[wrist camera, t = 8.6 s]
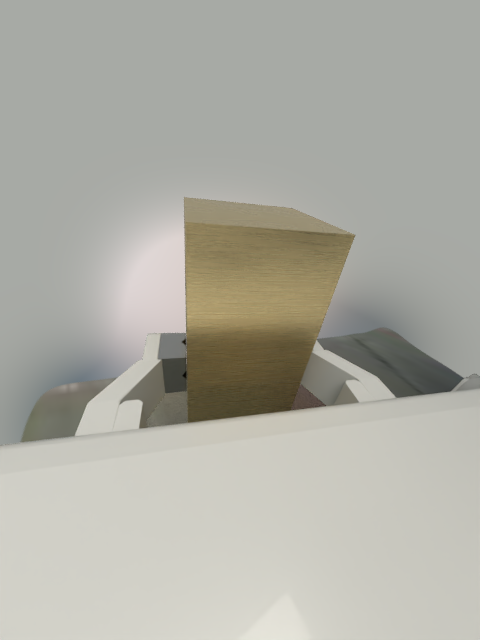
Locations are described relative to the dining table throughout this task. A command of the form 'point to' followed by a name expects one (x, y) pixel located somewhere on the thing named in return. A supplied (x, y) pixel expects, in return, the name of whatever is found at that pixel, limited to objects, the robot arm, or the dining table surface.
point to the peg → (254, 303)
